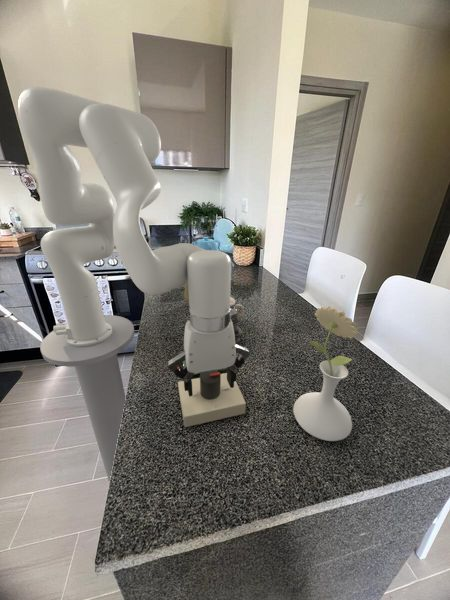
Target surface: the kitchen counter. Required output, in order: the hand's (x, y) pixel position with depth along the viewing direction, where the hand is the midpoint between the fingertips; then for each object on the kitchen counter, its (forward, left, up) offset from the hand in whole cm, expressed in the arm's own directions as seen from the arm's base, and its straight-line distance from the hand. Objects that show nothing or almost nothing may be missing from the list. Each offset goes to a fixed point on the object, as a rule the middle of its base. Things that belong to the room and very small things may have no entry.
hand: (210, 387), depth 54 cm
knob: (0, 0, -1) cm, 1 cm away
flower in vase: (+21, -10, -5) cm, 24 cm away
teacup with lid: (+13, +32, -5) cm, 35 cm away
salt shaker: (+12, +22, -5) cm, 25 cm away
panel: (0, 0, -4) cm, 4 cm away
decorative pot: (+24, +116, -5) cm, 119 cm away
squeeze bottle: (+5, +49, -5) cm, 49 cm away
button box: (+1, +12, -4) cm, 12 cm away
